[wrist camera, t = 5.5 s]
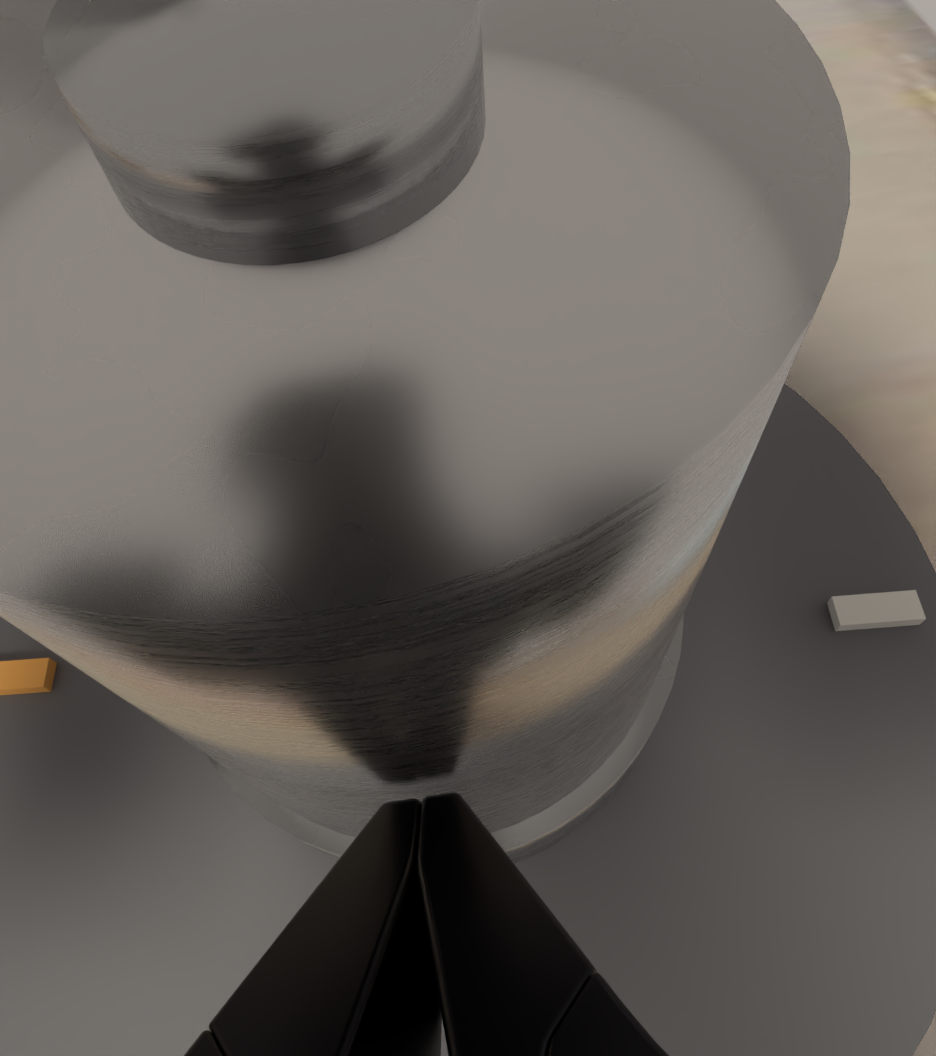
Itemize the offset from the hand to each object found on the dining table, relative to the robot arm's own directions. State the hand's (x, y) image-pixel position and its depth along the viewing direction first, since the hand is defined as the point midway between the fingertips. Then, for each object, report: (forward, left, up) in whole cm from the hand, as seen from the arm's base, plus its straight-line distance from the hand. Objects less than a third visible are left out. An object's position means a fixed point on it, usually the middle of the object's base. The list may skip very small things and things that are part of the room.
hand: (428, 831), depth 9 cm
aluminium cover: (+4, -2, -6) cm, 7 cm away
